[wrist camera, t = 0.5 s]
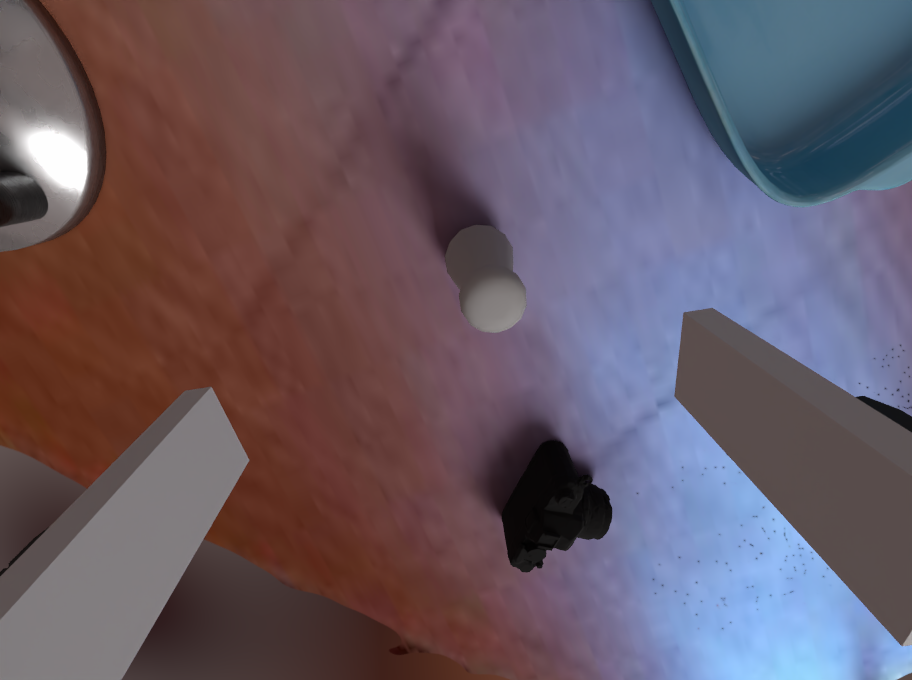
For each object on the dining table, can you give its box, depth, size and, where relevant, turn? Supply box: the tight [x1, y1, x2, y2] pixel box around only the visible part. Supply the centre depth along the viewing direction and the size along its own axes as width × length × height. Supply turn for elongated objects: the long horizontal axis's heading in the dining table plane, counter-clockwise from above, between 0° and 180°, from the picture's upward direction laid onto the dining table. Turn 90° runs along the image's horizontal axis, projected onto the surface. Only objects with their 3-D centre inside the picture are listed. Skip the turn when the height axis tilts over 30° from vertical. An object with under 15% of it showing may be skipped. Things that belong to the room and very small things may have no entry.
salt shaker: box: [445, 225, 526, 333], centre depth 31 cm, size 6×6×13 cm
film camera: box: [502, 440, 612, 572], centre depth 46 cm, size 15×10×9 cm, turn 160°
